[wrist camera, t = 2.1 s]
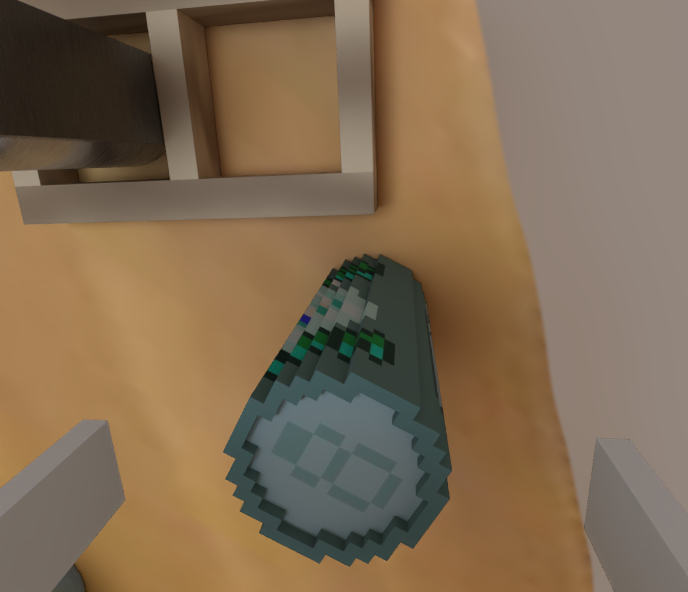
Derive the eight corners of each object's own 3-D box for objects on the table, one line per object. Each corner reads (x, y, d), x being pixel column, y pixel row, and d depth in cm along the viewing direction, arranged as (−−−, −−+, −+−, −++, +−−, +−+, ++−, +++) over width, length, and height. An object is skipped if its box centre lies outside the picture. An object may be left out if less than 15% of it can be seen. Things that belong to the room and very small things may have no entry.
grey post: (193, 163, 26) (-67, 172, 12) (85, 169, 27) (-279, 182, 12) (177, 45, 24) (-150, -117, 10) (63, 54, 25) (-389, -81, 11)
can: (348, 237, 26) (280, 335, 12) (443, 287, 26) (490, 443, 12) (303, 325, 28) (198, 502, 14) (392, 371, 28) (380, 593, 14)
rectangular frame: (377, 207, 25) (374, 214, 22) (63, 217, 28) (24, 224, 25) (371, -36, 22) (367, -64, 19) (16, 0, 24) (-35, -20, 22)
